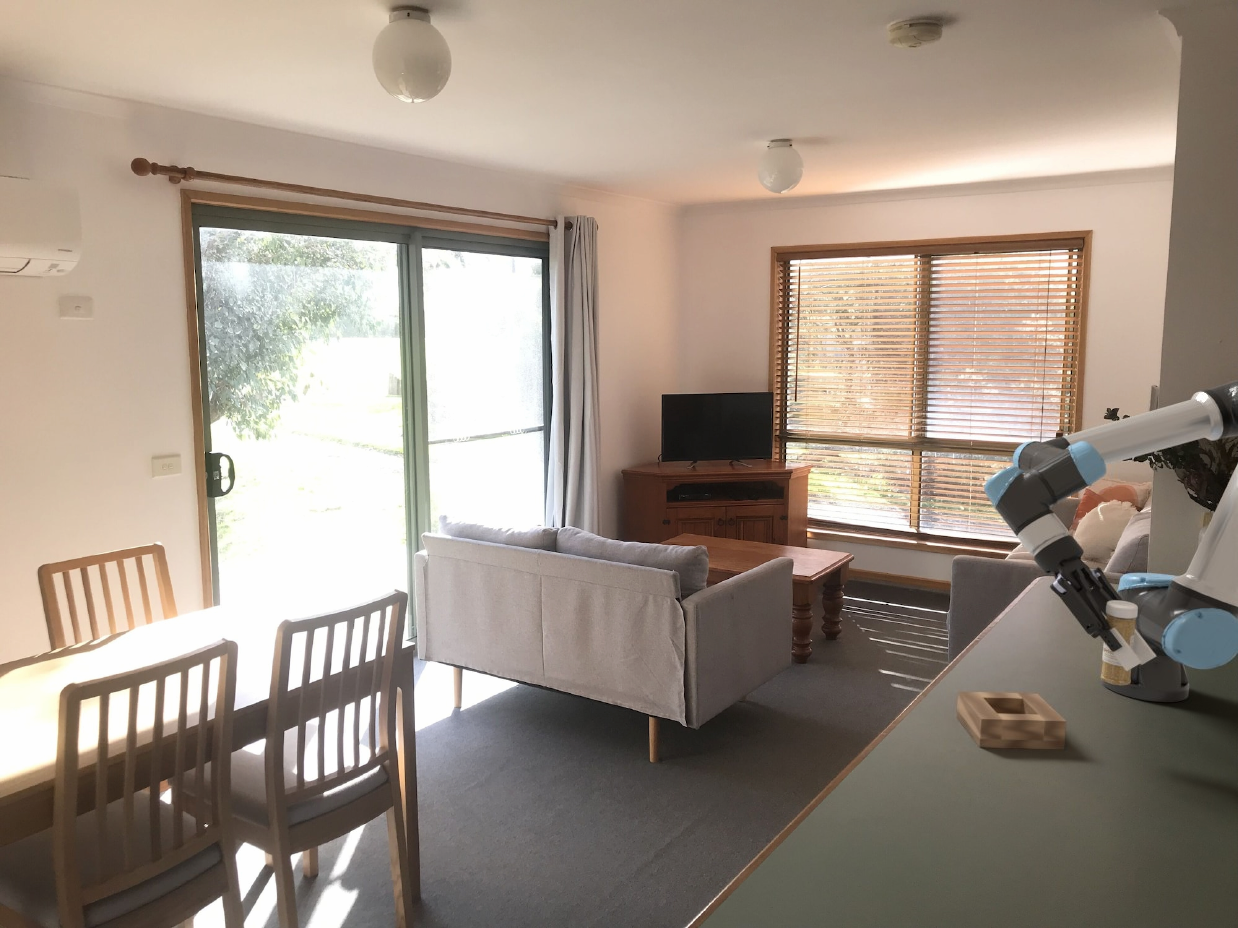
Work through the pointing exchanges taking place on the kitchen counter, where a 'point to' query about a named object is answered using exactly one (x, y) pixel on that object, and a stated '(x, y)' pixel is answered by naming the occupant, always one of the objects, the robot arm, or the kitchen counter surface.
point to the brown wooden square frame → (1010, 720)
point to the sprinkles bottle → (1124, 621)
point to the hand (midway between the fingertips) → (1141, 663)
